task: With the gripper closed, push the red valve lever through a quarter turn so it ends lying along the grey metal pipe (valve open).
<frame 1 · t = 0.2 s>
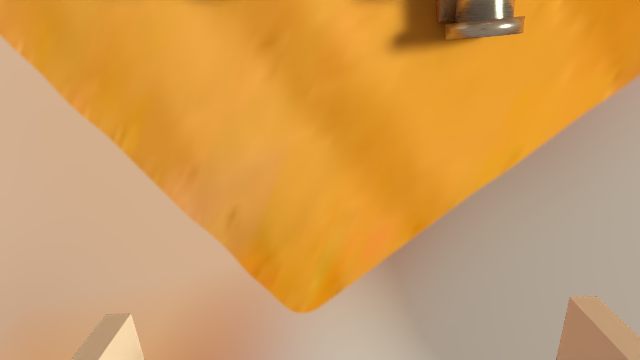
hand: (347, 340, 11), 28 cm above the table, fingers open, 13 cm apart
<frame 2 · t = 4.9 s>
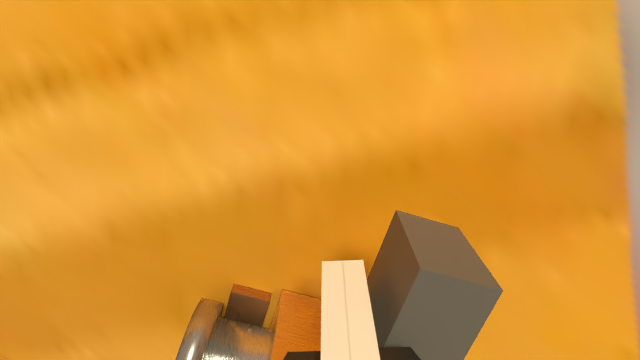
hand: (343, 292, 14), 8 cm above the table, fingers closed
valve pipe: (319, 344, 25), on the table
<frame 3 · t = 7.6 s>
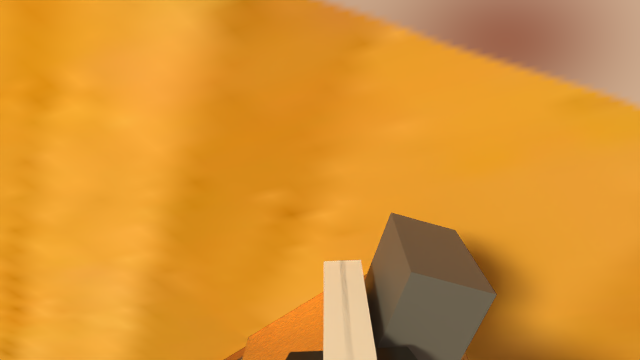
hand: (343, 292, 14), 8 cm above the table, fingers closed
valve pipe: (322, 347, 25), on the table
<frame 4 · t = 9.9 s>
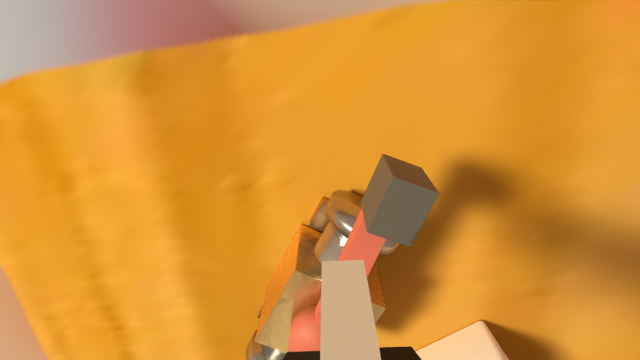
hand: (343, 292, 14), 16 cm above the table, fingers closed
container: (461, 359, 37), on the table
lever: (351, 283, 22), point 9 cm above the table, hinge at 6.2°
valve pipe: (320, 271, 33), on the table
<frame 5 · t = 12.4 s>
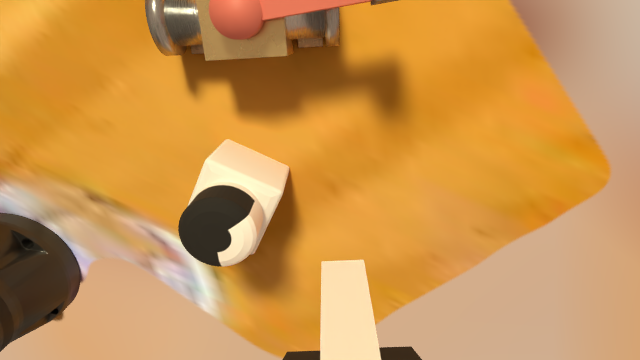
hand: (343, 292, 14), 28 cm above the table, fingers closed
container: (246, 180, 43), on the table
valve pipe: (254, 17, 37), on the table
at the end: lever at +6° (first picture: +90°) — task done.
